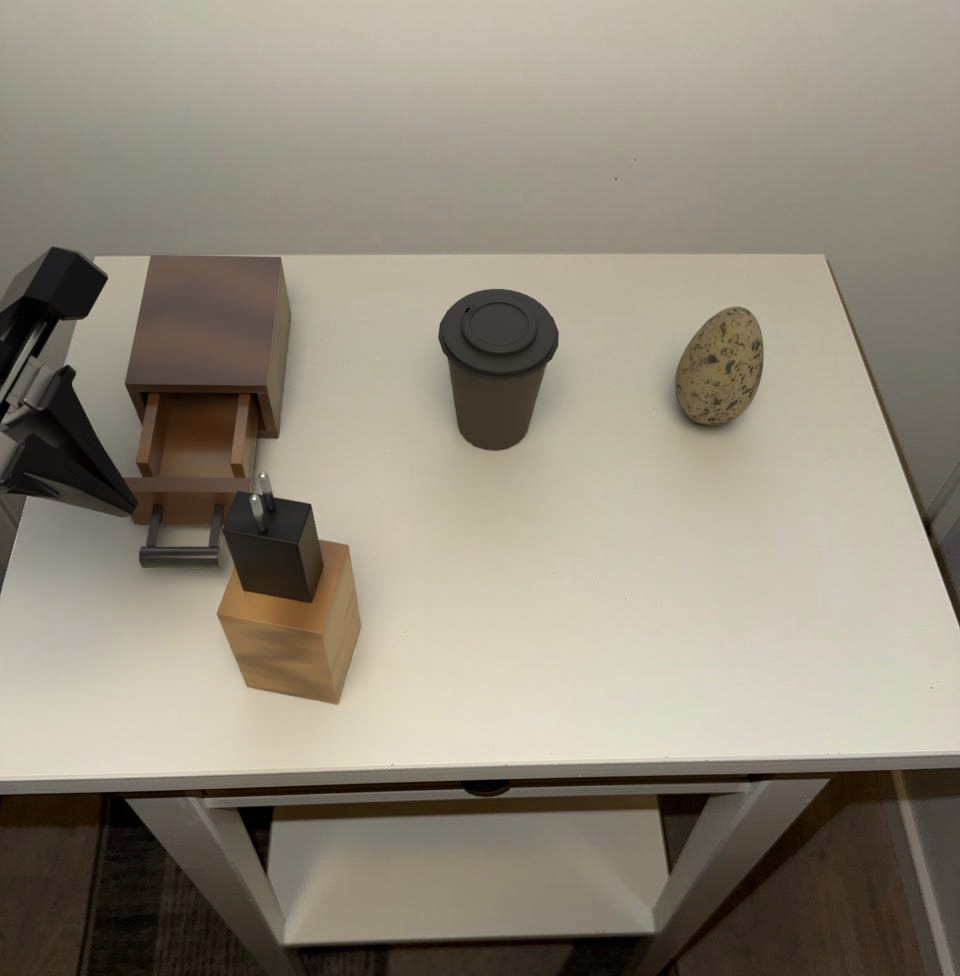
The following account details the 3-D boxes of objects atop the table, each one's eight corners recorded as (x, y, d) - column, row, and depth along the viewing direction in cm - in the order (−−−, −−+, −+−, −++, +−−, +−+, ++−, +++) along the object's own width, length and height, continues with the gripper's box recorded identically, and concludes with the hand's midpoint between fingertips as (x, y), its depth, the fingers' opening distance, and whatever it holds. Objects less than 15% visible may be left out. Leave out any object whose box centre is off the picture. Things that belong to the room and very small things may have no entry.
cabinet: (278, 438, 72) (266, 385, 67) (146, 437, 72) (124, 384, 67) (291, 313, 78) (281, 256, 73) (169, 312, 78) (150, 254, 73)
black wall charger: (242, 591, 55) (210, 498, 47) (256, 553, 56) (226, 457, 48) (312, 604, 55) (290, 513, 47) (324, 565, 56) (305, 471, 48)
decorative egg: (659, 385, 76) (687, 282, 67) (734, 381, 76) (772, 278, 67) (674, 446, 73) (705, 347, 64) (752, 441, 73) (794, 342, 64)
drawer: (251, 584, 65) (241, 553, 62) (123, 584, 65) (106, 552, 61) (272, 397, 73) (263, 360, 69) (157, 396, 72) (143, 358, 69)
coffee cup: (435, 383, 75) (433, 279, 66) (540, 378, 76) (552, 275, 67) (442, 468, 71) (442, 370, 62) (553, 462, 72) (568, 364, 63)
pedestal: (246, 687, 63) (215, 613, 54) (273, 607, 65) (248, 525, 57) (338, 705, 62) (321, 633, 54) (361, 623, 65) (349, 544, 57)
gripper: (-123, 233, 52) (126, 412, 62) (-326, 524, 45) (-8, 675, 55) (-42, 144, 45) (225, 363, 55) (-270, 474, 38) (87, 660, 47)
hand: (131, 511), depth 53 cm, fingers closed
